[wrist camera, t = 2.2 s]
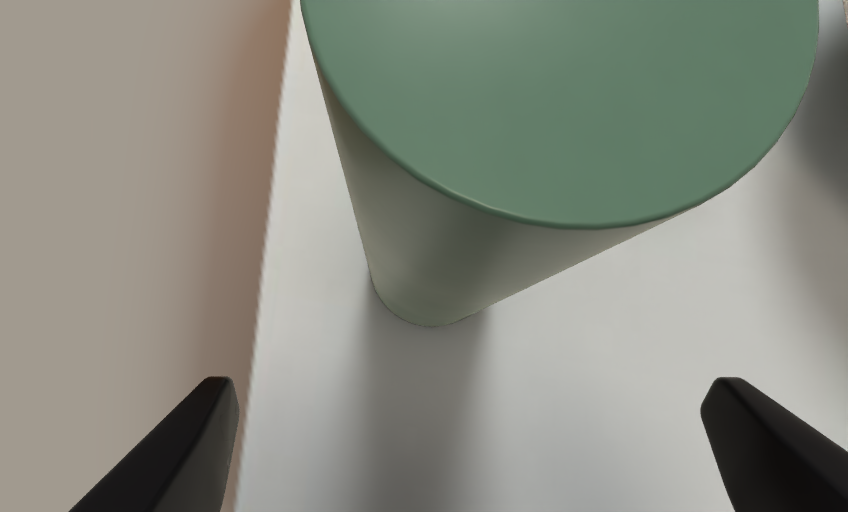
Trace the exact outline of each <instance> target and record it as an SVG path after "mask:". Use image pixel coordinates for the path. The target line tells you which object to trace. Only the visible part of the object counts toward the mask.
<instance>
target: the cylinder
mask: <svg viewBox="0 0 848 512" xmlns="http://www.w3.org/2000/svg"><path fill="white" fill-rule="evenodd" d="M300 4H301V12H302V16H303V20H304V24H305V28H306V32H307V36H308V40H309V44H310V48H311V51H312V55H313V59H314V63H315V66H316V70H317V74H318V78H319V82H320V85H321V89H322V93H323V97H324V100H325V104H326V108H327V112H328V115H329V119H330V123H331V127H332V130H333V134H334V138H335V142H336V146H337V149H338V153H339V157H340V161H341V164H342V168H343V172H344V176H345V179H346V183H347V187H348V191H349V195H350V198H351V202H352V206H353V210H354V213H355V217H356V221H357V225H358V228H359V232H360V236H361V240H362V244H363V247H364V251H365V255H366V259H367V262H368V266H369V270H370V274H371V277H372V281H373V285H374V287H375V290H376V292H377V294H378V296H379V297H380V299H381V300H382V302H383V303H384V304H385V305H386V306H387V308H388V309H389V310H390V311H392V312H393V313H394V314H395V315H397V316H398V317H400V318H402V319H403V320H405V321H408V322H410V323H413V324H416V325H420V326H428V327H436V326H444V325H448V324H452V323H454V322H457V321H459V320H461V319H463V318H465V317H467V316H469V315H472V314H474V313H476V312H478V311H480V310H482V309H484V308H486V307H488V306H490V305H492V304H494V303H497V302H499V301H501V300H503V299H505V298H507V297H509V296H511V295H513V294H515V293H517V292H519V291H522V290H524V289H526V288H528V287H530V286H532V285H534V284H536V283H538V282H540V281H542V280H544V279H547V278H549V277H551V276H553V275H555V274H557V273H559V272H561V271H563V270H565V269H567V268H569V267H572V266H574V265H576V264H578V263H580V262H582V261H584V260H586V259H588V258H590V257H592V256H595V255H597V254H599V253H601V252H603V251H605V250H607V249H609V248H611V247H613V246H615V245H617V244H620V243H622V242H624V241H626V240H628V239H630V238H632V237H634V236H636V235H638V234H640V233H642V232H645V231H647V230H649V229H651V228H653V227H655V226H657V225H659V224H661V223H663V222H665V221H667V220H670V219H672V218H674V217H676V216H678V215H680V214H682V213H684V212H686V211H688V210H690V209H692V208H695V207H697V206H699V205H701V204H702V203H704V202H706V201H707V200H709V199H711V198H713V197H714V196H716V195H718V194H719V193H721V192H723V191H724V190H726V189H728V188H729V187H731V186H732V185H733V184H734V183H736V182H737V181H738V180H739V179H740V178H742V177H743V176H744V175H745V174H747V173H748V172H749V171H750V170H752V169H753V168H754V167H755V166H756V165H757V164H758V163H759V162H760V160H761V159H762V158H763V157H764V156H765V155H766V154H767V153H768V152H769V151H770V149H771V148H772V147H773V146H774V145H775V144H776V142H777V141H778V139H779V138H780V136H781V135H782V133H783V132H784V130H785V129H786V127H787V126H788V124H789V123H790V121H791V120H792V118H793V117H794V115H795V113H796V111H797V108H798V106H799V104H800V102H801V100H802V97H803V95H804V93H805V91H806V89H807V86H808V82H809V79H810V75H811V72H812V68H813V65H814V61H815V57H816V49H817V41H818V33H819V4H818V0H300Z"/></svg>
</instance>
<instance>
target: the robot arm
mask: <svg viewBox="0 0 848 512" xmlns="http://www.w3.org/2000/svg"><path fill="white" fill-rule="evenodd" d="M701 418H702V421H703V424H704V427H705V430H706V433H707V436H708V439H709V442H710V445H711V448H712V451H713V454H714V457H715V459H716V462H717V465H718V468H719V471H720V474H721V477H722V480H723V483H724V486H725V488H726V491H727V493H728V496H729V498H730V501H731V503H732V505H733V508H734V510H735V512H848V452H847V451H846V450H844V449H843V448H842V447H840V446H839V445H837V444H836V443H834V442H833V441H831V440H830V439H829V438H827V437H826V436H824V435H823V434H821V433H820V432H819V431H817V430H816V429H814V428H813V427H811V426H810V425H808V424H807V423H806V422H804V421H803V420H801V419H800V418H798V417H797V416H795V415H794V414H793V413H791V412H790V411H788V410H787V409H785V408H784V407H783V406H781V405H780V404H778V403H777V402H775V401H774V400H772V399H771V398H770V397H768V396H767V395H765V394H764V393H762V392H761V391H760V390H758V389H757V388H755V387H754V386H752V385H751V384H749V383H748V382H747V381H745V380H743V379H741V378H738V377H720V378H717V379H716V380H715V381H714V382H713V384H712V386H711V387H710V389H709V391H708V393H707V395H706V397H705V399H704V400H703V402H702V405H701ZM238 421H239V404H238V400H237V396H236V392H235V388H234V383H233V381H232V379H231V378H230V377H208V378H206V379H204V380H203V381H202V382H201V383H200V384H199V385H198V386H197V387H196V388H195V389H194V390H193V391H192V392H191V393H190V394H189V395H188V396H187V397H186V398H185V399H184V400H183V401H181V403H179V404H178V405H177V406H176V407H175V408H174V409H173V410H172V411H171V412H170V413H169V414H168V415H167V416H166V417H165V418H164V419H163V420H162V421H161V422H160V423H159V424H158V425H157V426H156V427H155V428H154V429H153V430H152V431H151V432H150V433H149V434H148V435H147V436H146V437H145V438H143V440H141V441H140V443H138V444H137V445H136V446H135V447H134V448H133V449H132V450H131V451H130V452H129V453H128V454H127V455H126V456H125V457H124V458H123V459H122V460H121V461H120V462H119V463H118V464H117V465H116V466H115V467H114V468H113V469H112V470H111V471H110V472H109V473H108V474H107V475H105V476H104V478H102V479H101V480H100V481H99V482H98V483H97V484H96V485H95V486H94V487H93V488H92V489H91V490H90V491H89V492H88V493H87V494H86V495H85V496H84V497H83V498H82V499H81V500H80V501H79V502H78V503H77V504H76V505H75V506H74V507H73V508H72V509H71V510H70V511H69V512H220V510H221V506H222V502H223V498H224V493H225V489H226V483H227V478H228V473H229V467H230V462H231V457H232V452H233V447H234V442H235V436H236V431H237V426H238Z"/></svg>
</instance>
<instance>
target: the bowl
mask: <svg viewBox="0 0 848 512" xmlns="http://www.w3.org/2000/svg"><path fill="white" fill-rule="evenodd" d="M843 4H844V10H845V15H846V21H847V27H848V0H843Z"/></svg>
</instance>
